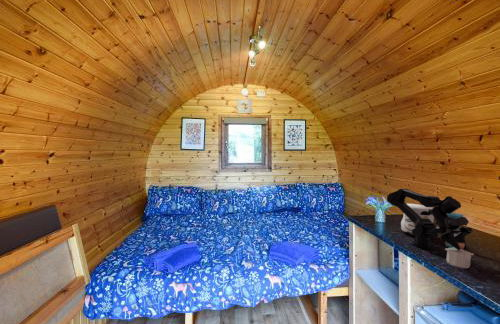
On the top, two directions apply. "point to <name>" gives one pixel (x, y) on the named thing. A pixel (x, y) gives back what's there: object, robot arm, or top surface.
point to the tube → (454, 216)
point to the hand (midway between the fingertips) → (462, 249)
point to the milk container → (421, 211)
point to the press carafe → (458, 257)
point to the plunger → (460, 245)
